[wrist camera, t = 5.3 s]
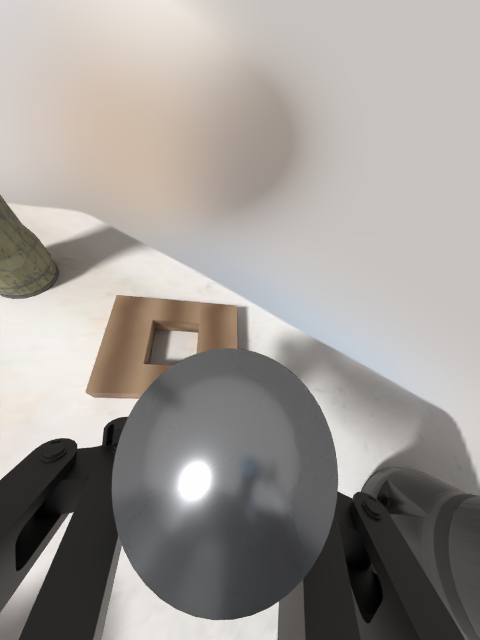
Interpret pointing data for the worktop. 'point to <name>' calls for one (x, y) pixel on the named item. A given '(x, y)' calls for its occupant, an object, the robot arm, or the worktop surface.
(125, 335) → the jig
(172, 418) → the metal peg
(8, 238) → the thermos
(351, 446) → the worktop surface
